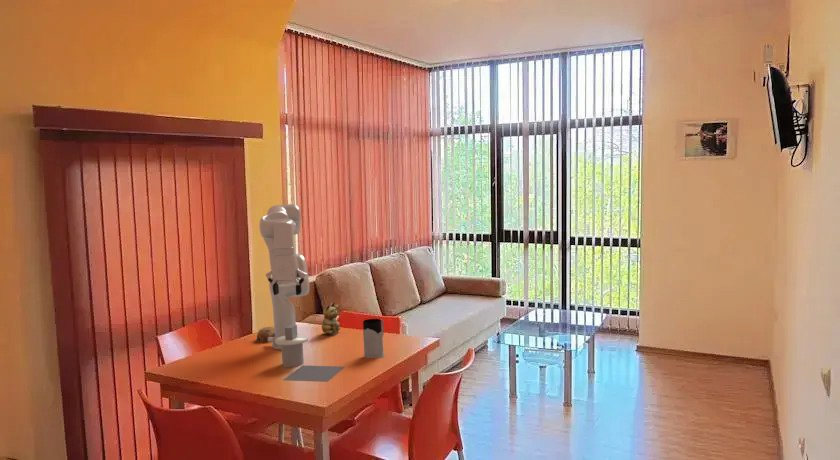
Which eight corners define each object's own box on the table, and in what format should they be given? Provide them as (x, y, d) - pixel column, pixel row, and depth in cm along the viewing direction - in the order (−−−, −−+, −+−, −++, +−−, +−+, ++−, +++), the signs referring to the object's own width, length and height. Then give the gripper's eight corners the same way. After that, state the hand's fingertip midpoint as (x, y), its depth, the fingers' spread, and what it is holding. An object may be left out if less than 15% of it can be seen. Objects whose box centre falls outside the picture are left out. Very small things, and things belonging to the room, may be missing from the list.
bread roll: (256, 347, 300) (249, 333, 296) (272, 334, 306) (265, 320, 303) (268, 350, 293) (261, 336, 290) (284, 336, 299) (277, 323, 296)
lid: (269, 345, 248) (268, 330, 248) (283, 336, 261) (282, 322, 261) (300, 345, 246) (299, 330, 245) (313, 336, 258) (312, 322, 258)
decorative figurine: (333, 336, 297) (331, 305, 296) (317, 335, 300) (315, 304, 299) (342, 331, 306) (340, 301, 305) (327, 330, 309) (325, 300, 308)
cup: (306, 362, 258) (304, 338, 257) (300, 368, 250) (299, 343, 249) (286, 362, 259) (284, 338, 258) (280, 368, 250) (278, 343, 250)
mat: (282, 381, 233) (282, 380, 233) (302, 366, 251) (302, 365, 251) (327, 383, 229) (327, 381, 229) (345, 368, 247) (345, 366, 247)
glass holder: (359, 358, 259) (357, 322, 257) (375, 349, 271) (373, 315, 270) (378, 360, 255) (376, 323, 254) (394, 350, 268) (392, 315, 267)
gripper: (260, 253, 249) (263, 296, 251) (300, 253, 245) (303, 296, 247) (269, 251, 257) (271, 292, 258) (308, 250, 253) (311, 292, 254)
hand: (287, 294), depth 253 cm, fingers open, 9 cm apart
